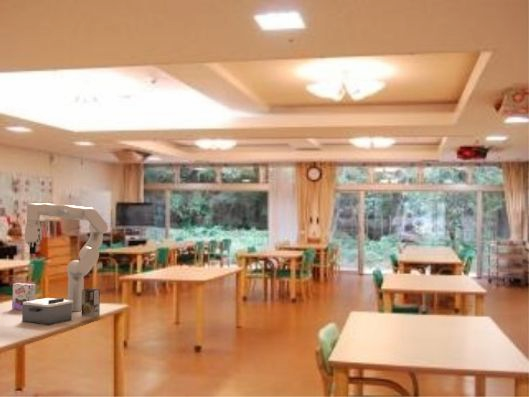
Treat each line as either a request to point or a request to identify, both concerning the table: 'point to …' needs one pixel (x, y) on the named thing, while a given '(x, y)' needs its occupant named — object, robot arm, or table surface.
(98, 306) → the coffee box
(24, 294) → the candy box
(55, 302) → the lid
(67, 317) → the grey storage box
